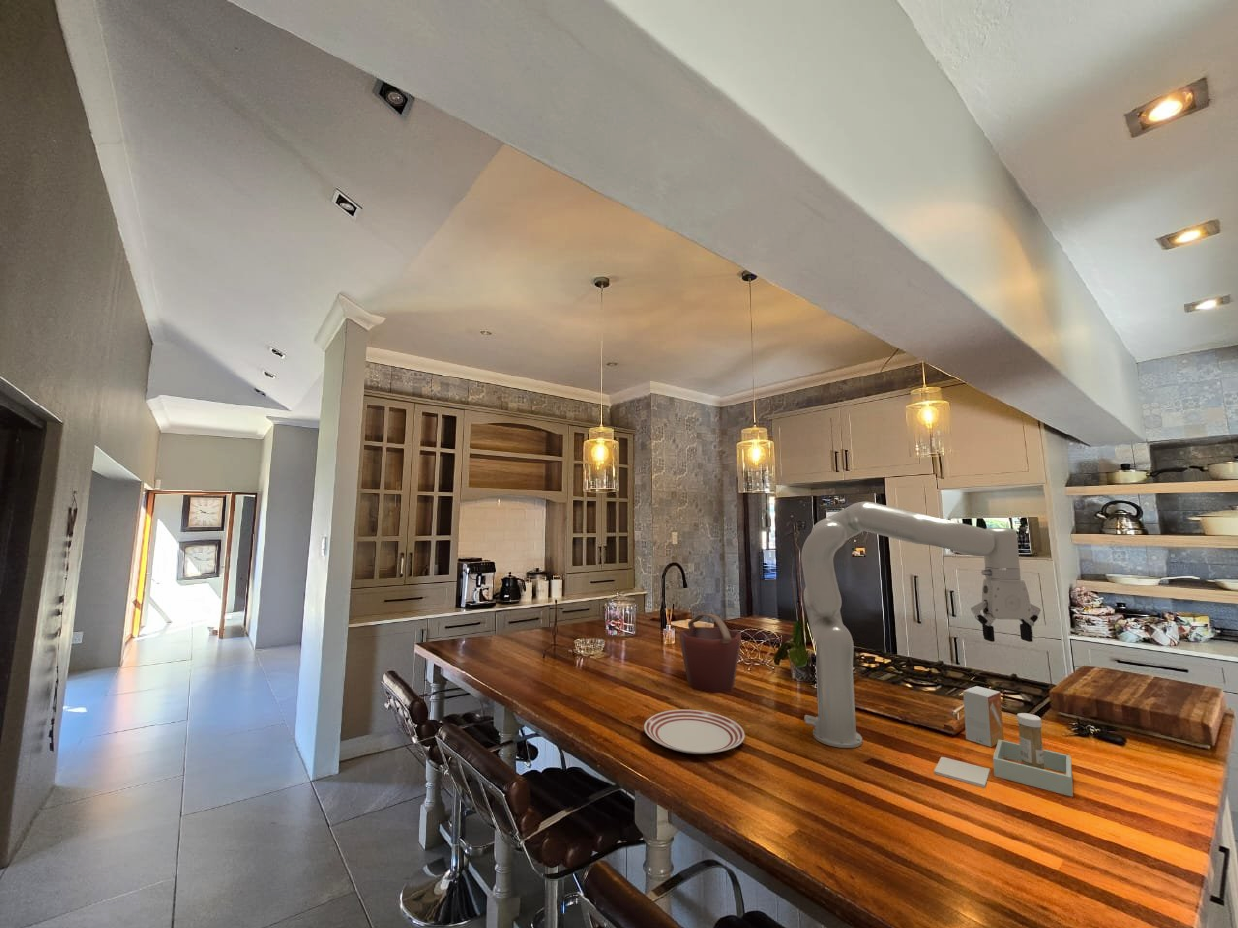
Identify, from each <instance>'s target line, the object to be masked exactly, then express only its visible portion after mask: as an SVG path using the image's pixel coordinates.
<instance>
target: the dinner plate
mask: <svg viewBox="0 0 1238 928" xmlns="http://www.w3.org/2000/svg"><path fill="white" fill-rule="evenodd" d="M643 730H644V732H645V734H646V735H647V736H648V737H649V738H650V739H651V740H652V741H654V742H655V743H657V744H658V745H661V746H663V747H665V748H668V749H670V750H673V751H676V752H681V753H685V754H691V755H692V754H693V755H707V754H716V753H721V752H726V751H729V750H732V749H735V748H737V747H738V746H740V745H742V743H743V742H744V740H745V736H746V733H745V731H744V729H743V728H742V726H741V725H740V724H739V723H737V722H736V721H734V720H732V719H731V718H728V717H726V716H723V715H721V714H717V713H714V712H709V711H705V710H696V709H672V710H666V711H662V712H659V713H656V714H654V715H652V716H650V717H649V718H648V719H647V720H646V721H645V722H644V725H643Z"/></svg>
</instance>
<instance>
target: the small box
mask: <svg viewBox="0 0 1238 928" xmlns="http://www.w3.org/2000/svg"><path fill="white" fill-rule="evenodd" d="M962 694H963V709H964V710H963V711H964V725H965V726H964V727H965V728H964V729H965V730H964V731H965V739H966V740H968V741H971V742H974V743H977V744H979V745H983V746H987V747H990V748H992V747H994V746H997V743H998V740H1004V725H1003V723H1004V722H1003V713H1002V712H1003V711H1002V693H1001V691H999V690H994V689H990V688H986V687H982V686H978V685H976V686H973V687H969V688H967V689H965V690H963V693H962ZM1004 741H1005V740H1004Z"/></svg>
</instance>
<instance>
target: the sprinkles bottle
mask: <svg viewBox="0 0 1238 928" xmlns="http://www.w3.org/2000/svg"><path fill="white" fill-rule="evenodd" d="M1016 717H1017V724H1018V730H1019V731H1018V733H1019V735H1018V737H1019V738H1018V739H1019V740H1018V741H1019V744H1020V752H1021V759H1022V762H1021V764H1023V765H1027V766H1032V767H1036V768H1040V769H1044V770H1045V768H1044V756H1043V741H1042V724H1043V723H1042V718H1041V717H1039V716H1038V715H1035V714H1031V713H1027V712H1020V713H1019V712H1018V713H1017V714H1016Z"/></svg>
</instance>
